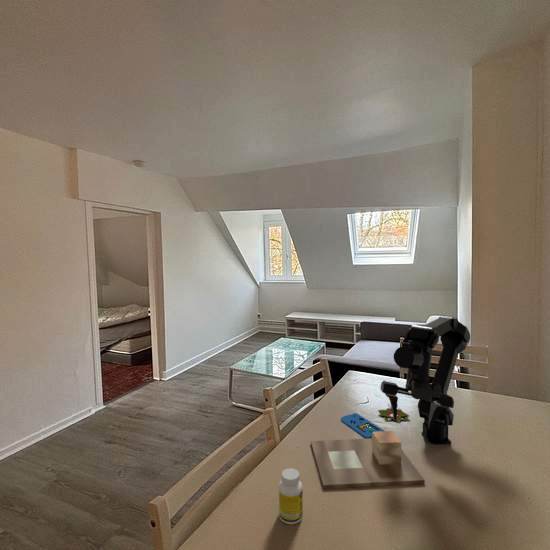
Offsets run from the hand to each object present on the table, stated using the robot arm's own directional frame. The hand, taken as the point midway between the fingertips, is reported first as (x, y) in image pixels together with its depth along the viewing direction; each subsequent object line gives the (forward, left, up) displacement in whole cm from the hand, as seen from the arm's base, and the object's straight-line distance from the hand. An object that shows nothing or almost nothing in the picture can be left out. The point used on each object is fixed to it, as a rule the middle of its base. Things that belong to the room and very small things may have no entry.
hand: (411, 424), depth 93 cm
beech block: (+7, 0, -9) cm, 12 cm away
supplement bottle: (+36, +18, -11) cm, 42 cm away
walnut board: (+14, 0, -10) cm, 18 cm away
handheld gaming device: (+8, -20, -11) cm, 24 cm away
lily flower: (-6, -26, -11) cm, 29 cm away
